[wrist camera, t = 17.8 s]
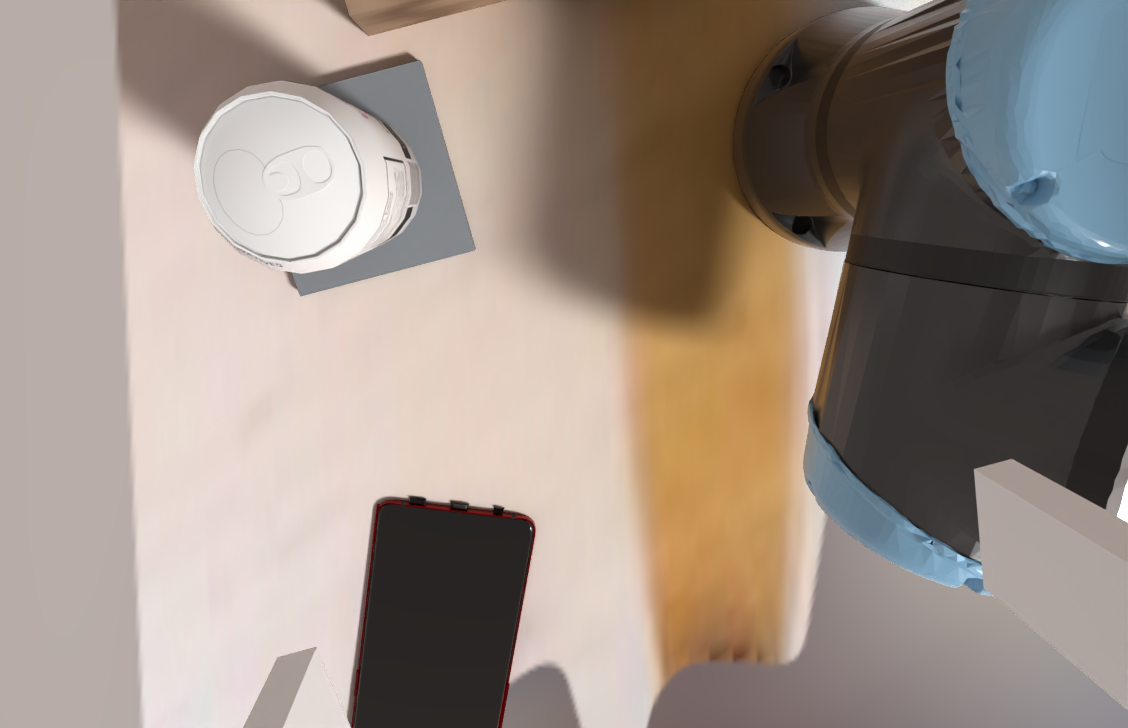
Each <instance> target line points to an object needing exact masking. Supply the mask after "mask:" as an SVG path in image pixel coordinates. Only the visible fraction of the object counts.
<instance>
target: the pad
mask: <svg viewBox="0 0 1128 728" xmlns="http://www.w3.org/2000/svg"><path fill="white" fill-rule="evenodd" d="M317 88H319V89H321V90H323V91H325V92H327V93H329V94H331V95H333V96H335V97H337V98H339V99H341V100H343V101H345V102H347V103H349V104H351V105H353V106H355V107H357V108H358V109H360V110H362V111H364V112H366V113H368V114H370V115H372V116H374V117H376V118H378V119H379V120H381V121H383V122H385V123H386V124H388V125H390V126H391V127H393V128H395V129H396V130H397V131H398V132H399V134H400V135H401V136H402V137H403V138H404V139H405V140H406V142H407V143H408V144H409V145H410V146H411V147H412V150H413V152H414V155H415V157H416V159H417V162H418V164H419V167H420V169H421V182H422V195H421V199H420V202H419V205H418V209H417V212H416V215H415V216H414V218H413V219H412V220H411V222H410V223H409V224H408V226H407V227H406V228H405V230H404V231H403V232H402V233H401V234H399V235H397V236H396V237H394V238H392V239H391V240H389V241H388V242H386V243H384V244H382V245H380V246H378V247H376V248H374V249H372V250H370V251H368V252H366V253H363V254H361V255H359V256H357V257H355V258H353V259H351V260H349V261H347V262H344V263H342V264H340V265H338V266H336V267H334V268H330V269H325V270H319V271H314V272H309V273H304V274H300V273H294V272H291V273H292V275H293V278H294V281H295V284H296V286H297V289H298V292H299V294H300V296H304V295H307V294H311V293H315V292H319V291H323V290H326V289H330V288H334V287H338V286H342V285H345V284H349V283H353V282H357V281H360V280H364V279H368V278H372V277H376V276H379V275H383V274H387V273H391V272H395V271H398V270H402V269H406V268H410V267H414V266H417V265H421V264H425V263H429V262H432V261H436V260H440V259H444V258H448V257H451V256H455V255H459V254H463V253H467V252H470V251H474V250H475V249H476V248H475V245H474V241H473V238H472V234H471V231H470V228H469V224H468V221H467V217H466V214H465V210H464V207H463V203H462V200H461V196H460V193H459V189H458V186H457V182H456V179H455V175H454V172H453V168H452V165H451V162H450V158H449V155H448V151H447V148H446V144H445V141H444V137H443V134H442V130H441V127H440V123H439V120H438V116H437V113H436V109H435V106H434V102H433V99H432V95H431V92H430V89H429V85H428V82H427V78H426V75H425V71H424V68H423V64H422V62H421V61H420V60H419V61H415V62H411V63H407V64H403V65H399V66H395V67H392V68H388V69H384V70H380V71H376V72H372V73H369V74H365V75H361V76H357V77H353V78H349V79H346V80H342V81H338V82H334V83H330V84H326V85H322V86H319V87H317Z"/></svg>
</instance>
